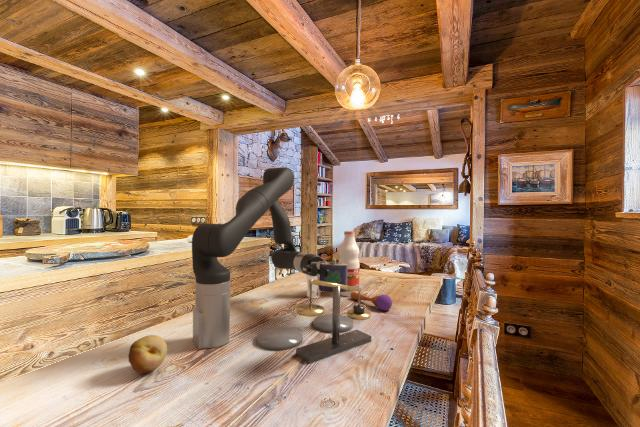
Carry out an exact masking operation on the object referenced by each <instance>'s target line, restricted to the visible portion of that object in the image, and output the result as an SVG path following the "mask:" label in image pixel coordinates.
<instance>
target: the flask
mask: <svg viewBox="0 0 640 427" xmlns="http://www.w3.org/2000/svg"><path fill="white" fill-rule="evenodd" d="M327 262H328V263H327ZM327 262H325V263H320V267H321V268H324V269H328V270H329V277H325V276H322V275H319V281H325V282H330V283H336V284H342V285H347V271H348V265H347V264H336V262H337V259H336V258H332V260H331V261H327ZM319 291H320V292H326V293H333V287H326V286H320V285H319ZM346 291H347V290H345V289H340V292H346Z"/></svg>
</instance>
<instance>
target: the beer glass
mask: <svg viewBox="0 0 640 427" xmlns="http://www.w3.org/2000/svg"><path fill="white" fill-rule="evenodd" d="M310 279H313V280H319V275H317V276H310V275H307V274H305V280H306V284H307V287H306V288H307V289H306V290H307V292H306V296H305V297H307V298H309V299H310V283H309V280H310ZM320 297H321V291H319V285H314V284H312V299H319V298H320Z"/></svg>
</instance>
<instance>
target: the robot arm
mask: <svg viewBox="0 0 640 427" xmlns="http://www.w3.org/2000/svg"><path fill="white" fill-rule="evenodd" d="M262 182H263V183H261V184H260V185H257V186H256V187H253V188H251V189H249V190H248V191H246V192H245V193H244V194H243V195H242V196H241V197H240V198H239V199H238V200H237V202H236V206H235V215H234V216H233V218H231V219H230V220H229V221H227V222H225V223H205V222H204V223H201V224H199V225H197V227H195V229H194V231H193V234H192V238H191V258H192V260H191V261H192V271H193V274H194V276H195V277H194V278H195V298H194V299H195V304H194V305H195V307H193V308H192V343H193V344H194V345H195V347H197V349H199V350H200V349H201V350H202V349H214V348H218V347H222V346H224V345H226V344H227V343H229V341H230V332H231V330H230V329H231V326H230V322H231V320H230V319H231V318H230V316H231V314H230V312H231V311H230V310H231V270H229V268H228V267H226V266H224V265H223V264H222V263H221V262H220V261H219V260H218V258H225V257H229V256H230V255H231V254H232V253H234V251H235V250H236V249H237V248H238V246H239V245H240V244H241V242H242V240H244V238H245V236H246V235H247V234H248V232H249V231H250V230H251V229H252V228H253V227H254V225H255V224H256V223H257V222H258V221H259V220H260V219H261V218H262V217H264V215H265V214H266V212H268V210H269V213H270V217H271V222H272V233H273V240H274V242H275V243H276V244H278V245H284V248H280V249H277V250H275V251H273V252H272V254H271V257H270V258H271V263H272V264H273V266H274V267H276V268H278V269H286V270H289V269H291V270H294V271H297V272H300V273H301V274H305V275H306V274H307V275H310V276H317V275H322V276H325V277H329V270H328V269H324V268H321V267H320V263H325V262H327V263H328V262H329V261H327V260H323V258H322V256H320V255H319V254H313V253H309V252H303V251H297V249H296V246H295V244H294V241H293V237H292V228H291V220H290V218H289V216H288V214H287V213H286V211H285V210H284V208H283V207H282V206H281V203H280V201H279V199H280V198H281V197H283V196H284V195H285V194H287V193H288V192H289V191H290V190H291V189H292V188H293V186H294V182H295V174H294V172H293V171H292V169H290V168H289V167H283V166H282V167H280V166H279V167H271V168H270V167H269V168H266V169H265V170H264V172H263V176H262ZM336 264H342V263H339V261H338V262H337V261H336ZM347 273H348V271H347Z"/></svg>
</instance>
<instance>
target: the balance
mask: <svg viewBox="0 0 640 427" xmlns="http://www.w3.org/2000/svg"><path fill="white" fill-rule="evenodd" d="M309 283H310V298H309V303H307V304H306V303H305V304H301V305H298V306H297V307H296V313H297V315H298V314H299V315H300V316H304V317H318V316H321V315H324V313H325V307H324V306H322V305H320V304H315V303H312V302H313V301H312V300H313V298H312V284H314V285H320V286H326V287H333V292H332V313H331V314H332V333H331V337H329V338H325V339H322V340H319V341H316V342H312V343H309V344H306V345H304V346H300V347H295V355H296V356H297V357H299V358H300V359H302V360H303V361H305V362H306V363H308V364H309V365H310V364H313V363H315V362H318V361H321V360H323V359H326V358H329V357H332V356H334V355H338V354H340V353H342V352H345V351H348V350H351V349H354V348H357V347H359V346H362V345H365V344H368V343H371V342H372V335H370V334H367V333H366V332H363V331H362V330H360V329H354V330H349V331H346V332H343V333H342V334H341V333H339V328H340V315H341V312H340V311H341V295H340V289H345V290H351V291H357V292H358V300H357V304H354V305H353V306H352V309H348V310H347V311H346V317H348V318H350V319H352V320H358V321H364V320H369V319H371V317H372V312H371V311H369V310H367V309H365V306H364V305H361V302H360V301H361V300H360V294H361V291H362V288H361V287H360V286H359V287H353V286H348V285H342V284H336V283H330V282H325V281H319V280H313V279H310V280H309Z"/></svg>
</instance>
